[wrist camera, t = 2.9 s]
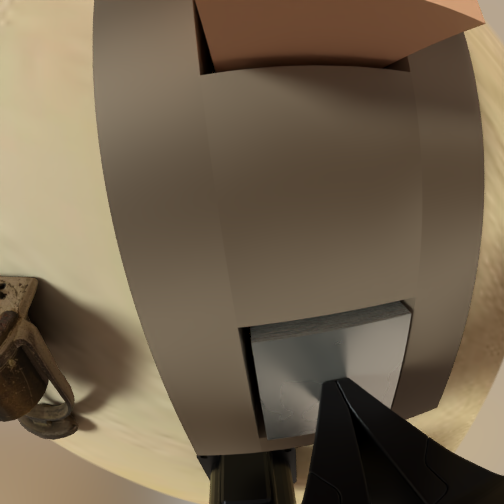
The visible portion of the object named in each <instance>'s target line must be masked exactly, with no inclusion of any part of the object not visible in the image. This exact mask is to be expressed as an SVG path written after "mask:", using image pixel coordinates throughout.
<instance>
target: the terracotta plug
mask: <svg viewBox="0 0 504 504" xmlns="http://www.w3.org/2000/svg"><path fill="white" fill-rule="evenodd" d="M195 2H196V5H197V9H198V12H199V16H200V19H201V22H202V26H203V29H204V33H205V36H206V40H207V43H208V47H209V50H210V53H211V57H212V60H213V64H214V67H215V71H216V73H219V72H226V71H234V70H243V69H253V68H265V67H280V66H312V65H321V66H354V67H368V68H380V69H382V68H384V67H386V66H388V65H390V64H392V63H394V62H396V61H398V60H400V59H402V58H404V57H406V56H408V55H410V54H412V53H415V52H417V51H419V50H421V49H423V48H426V47H428V46H430V45H432V44H435V43H437V42H439V41H442V40H444V39H447V38H449V37H451V36H454V35H456V34H459V33H461V32H464V31H467V30H469V29H472V28H475V27H477V26H480V25H483V24H486V23H485V20H484V18H483V15H482V12H481V9H480V7H479V4H478V1H477V0H195Z"/></svg>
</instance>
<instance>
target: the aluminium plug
mask: <svg viewBox="0 0 504 504" xmlns="http://www.w3.org/2000/svg"><path fill="white" fill-rule="evenodd" d="M410 319H411V313H410V312H409V310H408V309H407V308H406V307H405V306H404V305H403V304H402V303H401V302H400V301H395V302H391V303H386V304H381V305H376V306H372V307H367V308H362V309H356V310H351V311H346V312H340V313H335V314H329V315H323V316H317V317H311V318H305V319H299V320H292V321H285V322H278V323H271V324H264V325H256V326H250V330H251V343H252V350H253V356H254V362H255V368H256V375H257V381H258V387H259V393H260V399H261V405H262V411H263V417H264V423H265V429H266V435H267V440H273V439H281V438H288V437H294V436H300V435H306V434H312V433H315V431H316V424H317V417H318V409H319V401H320V392H321V385H322V383H324V382H329V381H336V380H339V379H344V378H350V379H351V380H353V381H354V382H355V383H357V384H358V385H359V386H360V387H362V388H363V389H364V390H366V391H367V392H368V393H370V394H371V395H372V396H374V397H375V398H376V399H378V400H379V401H380V402H382V403H383V404H384V405H386V406H387V407H388V408H391V405H392V401H393V398H394V394H395V390H396V386H397V383H398V379H399V374H400V370H401V366H402V361H403V357H404V352H405V347H406V342H407V337H408V331H409V325H410Z"/></svg>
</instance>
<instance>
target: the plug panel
mask: <svg viewBox="0 0 504 504" xmlns="http://www.w3.org/2000/svg"><path fill="white" fill-rule="evenodd" d="M93 80H94V97H95V110H96V121H97V130H98V139H99V147H100V154H101V161H102V168H103V174H104V180H105V186H106V191H107V197H108V202H109V207H110V212H111V216H112V221H113V226H114V230H115V234H116V239H117V243H118V247H119V251H120V255H121V259H122V262H123V266H124V270H125V273H126V277H127V281H128V284H129V287H130V291H131V294H132V297H133V301H134V304H135V307H136V310H137V313H138V316H139V319H140V322H141V325H142V328H143V331H144V334H145V337H146V340H147V342H148V345H149V348H150V351H151V353H152V356H153V358H154V361H155V364H156V366H157V369H158V371H159V374H160V376H161V379H162V381H163V383H164V386H165V388H166V391H167V393H168V395H169V398H170V400H171V402H172V404H173V407H174V409H175V411H176V413H177V415H178V417H179V420H180V422H181V424H182V426H183V428H184V430H185V432H186V434H187V436H188V438H189V440H190V442H191V444H192V446H193V448H194V450H195V452H196V454H197V455H230V454H245V453H256V452H266V451H274V450H282V449H289V448H295V447H301V446H307V445H312V444H314V438H315V433H312V434H306V435H300V436H294V437H288V438H281V439H273V440H267V435H266V429H265V423H264V417H263V411H262V405H261V399H260V393H259V387H258V381H257V375H256V368H255V362H254V356H253V355H252V349H251V343H250V336H249V330H248V326H256V325H264V324H271V323H278V322H285V321H292V320H299V319H305V318H311V317H317V316H323V315H329V314H335V313H340V312H346V311H351V310H356V309H362V308H367V307H372V306H376V305H381V304H386V303H391V302H395V301H400V302H401V303H402V304H403V305H404V306H405V307H406V308H407V309H408V310H409V312H410V313H411V319H410V325H409V331H408V337H407V342H406V347H405V352H404V357H403V361H402V366H401V370H400V374H399V379H398V383H397V386H396V390H395V394H394V398H393V401H392V405H391V408H390V409H391V410H392V411H394V412H395V413H396V414H398V415H399V416H401V417H402V418H403V419H405V420H406V419H408V418H411V417H414V416H417V415H419V414H422V413H424V412H427V411H429V410H432V409H434V408H437V406H438V404H439V401H440V399H441V397H442V394H443V392H444V389H445V387H446V384H447V381H448V379H449V376H450V373H451V370H452V367H453V364H454V362H455V358H456V355H457V352H458V349H459V346H460V342H461V339H462V335H463V332H464V328H465V324H466V321H467V317H468V312H469V308H470V304H471V299H472V294H473V289H474V284H475V279H476V273H477V267H478V260H479V253H480V244H481V235H482V224H483V209H484V149H483V134H482V123H481V114H480V107H479V100H478V93H477V87H476V82H475V76H474V72H473V67H472V62H471V58H470V54H469V50H468V46H467V42H466V39H465V35H464V32H461V33H459V34H456V35H454V36H451V37H449V38H447V39H444V40H442V41H439V42H437V43H435V44H432V45H430V46H428V47H426V48H423V49H421V50H419V51H417V52H415V53H412V54H410V55H408V56H406V57H404V58H402V59H400V60H398V61H396V62H394V63H392V64H390V65H388V66H386V67H384V68H382V69H380V68H368V67H354V66H321V65H312V66H280V67H265V68H253V69H243V70H234V71H226V72H219V73H212V66H211V58H210V50H209V47H208V43H207V40H206V36H205V33H204V29H203V26H202V22H201V19H200V16H199V12H198V9H197V5H196V2H195V0H94V14H93Z"/></svg>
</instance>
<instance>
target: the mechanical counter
mask: <svg viewBox="0 0 504 504" xmlns="http://www.w3.org/2000/svg"><path fill="white" fill-rule="evenodd" d="M37 286H38V280H37V279H36V278H30V277H3V276H0V421H3V422H5V421H11V420H15V419H18V420H19V422H20V424H21V425H22V426H23V427H24V428H25V429H27V431H29V432H31V433H33V434H35V435H37V436H39V437H41V438H44V439H53V440H54V439H59V438H64V437H67V436H69V435H72V434H74V433H75V432H76V431H77V430H78V424H77V422H76V421H75V419H74V418H73V416H72V415H70V414H71V412H72V409H73V406H74V401H75V400H74V395H73V392H72V389H71V386H70V385H69V383H68V382H67V380H66V378H65V377H64V375H63V374H62V373H61V372H60V370H59V368H58V366H57V364H56V362H55V361H54V359H53V357H52V355H51V353H50V351H49V349H48V347H47V346H46V344H45V342H44V340H43V338H42V336H41V334H40V332H39V330H38V328H37V327H36V326H35V325H33V324H32V323H31V322H30V319H29V317H28V315H27V314H28V310H29V307H30V305H31V302H32V300H33V298H34V295H35V292H36V290H37ZM49 380H50V381H51V383H52V384H53V386H54V387H55V388H56V390H57V391H58V392H59V394H60V395H61V397H62V398H63V399H64V401H65V403H63V404H61V405H58V406H51V405H45V404H37V403H38V402H39V401H40V399H41V398H42V396H43V395H44V393H45V391H46V388H47V385H48V381H49Z"/></svg>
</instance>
